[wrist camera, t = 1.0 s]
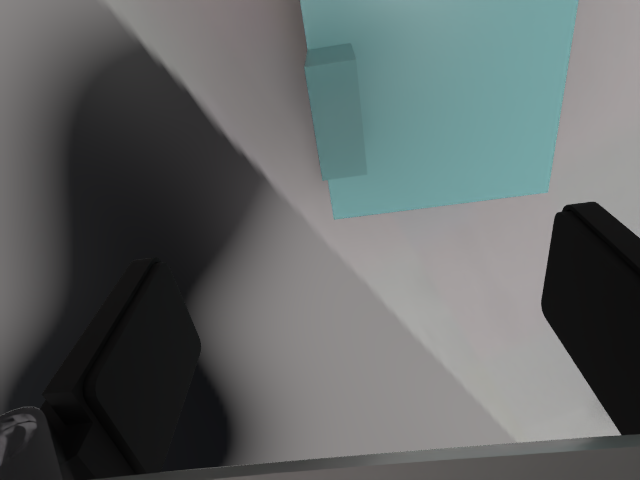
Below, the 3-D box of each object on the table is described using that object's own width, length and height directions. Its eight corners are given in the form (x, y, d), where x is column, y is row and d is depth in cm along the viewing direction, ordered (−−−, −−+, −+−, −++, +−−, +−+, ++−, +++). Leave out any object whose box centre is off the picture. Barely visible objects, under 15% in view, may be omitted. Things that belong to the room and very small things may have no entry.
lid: (292, -64, 24) (281, -74, 17) (572, -116, 22) (670, -148, 16) (333, 203, 33) (335, 259, 26) (532, 177, 31) (585, 230, 25)
